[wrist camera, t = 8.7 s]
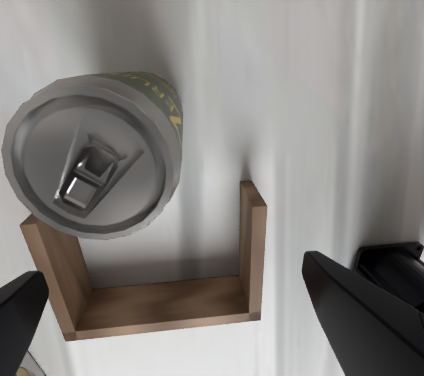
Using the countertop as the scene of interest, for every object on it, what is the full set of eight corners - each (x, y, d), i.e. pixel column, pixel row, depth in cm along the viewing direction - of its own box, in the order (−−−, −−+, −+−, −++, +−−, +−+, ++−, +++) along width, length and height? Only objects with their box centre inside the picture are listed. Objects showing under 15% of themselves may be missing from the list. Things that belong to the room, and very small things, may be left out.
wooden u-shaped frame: (251, 180, 22) (267, 206, 18) (248, 282, 26) (260, 320, 22) (51, 195, 21) (19, 225, 17) (84, 298, 25) (65, 341, 21)
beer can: (158, 162, 20) (128, 268, 10) (92, 121, 19) (-35, 195, 8) (197, 103, 19) (215, 150, 8) (130, 53, 17) (37, 27, 6)
